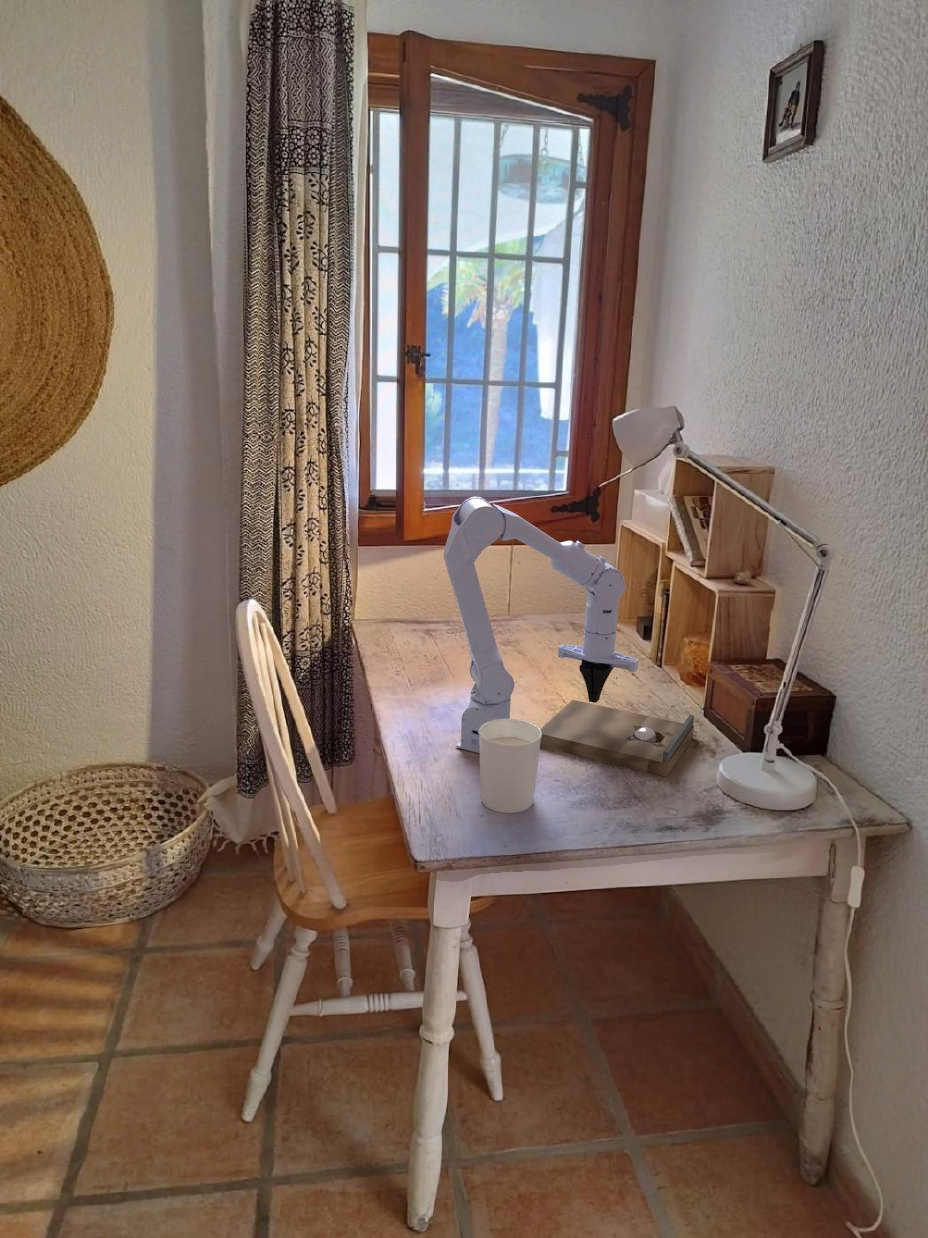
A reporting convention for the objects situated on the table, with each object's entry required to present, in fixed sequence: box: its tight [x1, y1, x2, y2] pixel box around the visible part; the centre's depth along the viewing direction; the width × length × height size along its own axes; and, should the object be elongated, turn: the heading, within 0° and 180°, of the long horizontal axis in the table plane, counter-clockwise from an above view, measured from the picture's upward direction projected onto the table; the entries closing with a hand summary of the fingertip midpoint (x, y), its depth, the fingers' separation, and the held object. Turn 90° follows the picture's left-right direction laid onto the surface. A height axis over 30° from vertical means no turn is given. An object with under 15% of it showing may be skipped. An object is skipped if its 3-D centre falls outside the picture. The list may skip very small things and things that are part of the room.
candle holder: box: [479, 718, 542, 814], centre depth 140 cm, size 10×10×12 cm
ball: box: [634, 727, 656, 743], centre depth 160 cm, size 4×4×4 cm
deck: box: [540, 699, 695, 778], centre depth 163 cm, size 24×18×4 cm
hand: (594, 700), depth 163 cm, fingers closed
